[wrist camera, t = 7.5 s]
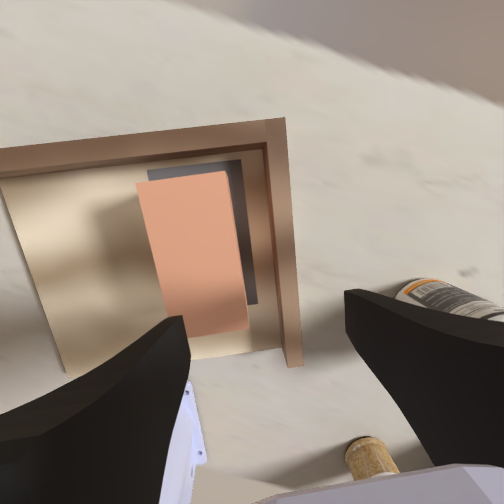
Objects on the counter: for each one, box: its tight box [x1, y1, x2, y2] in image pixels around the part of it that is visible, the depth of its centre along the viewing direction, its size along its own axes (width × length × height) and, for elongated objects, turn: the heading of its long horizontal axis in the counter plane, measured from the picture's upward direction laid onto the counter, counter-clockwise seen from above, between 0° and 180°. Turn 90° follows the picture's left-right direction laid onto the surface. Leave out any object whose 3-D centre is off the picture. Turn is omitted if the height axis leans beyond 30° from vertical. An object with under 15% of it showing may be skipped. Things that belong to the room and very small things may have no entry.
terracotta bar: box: [135, 171, 249, 338], centre depth 16 cm, size 9×4×5 cm, turn 8°
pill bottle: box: [395, 278, 504, 322], centre depth 17 cm, size 6×6×10 cm
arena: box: [0, 117, 304, 378], centre depth 18 cm, size 17×19×4 cm
